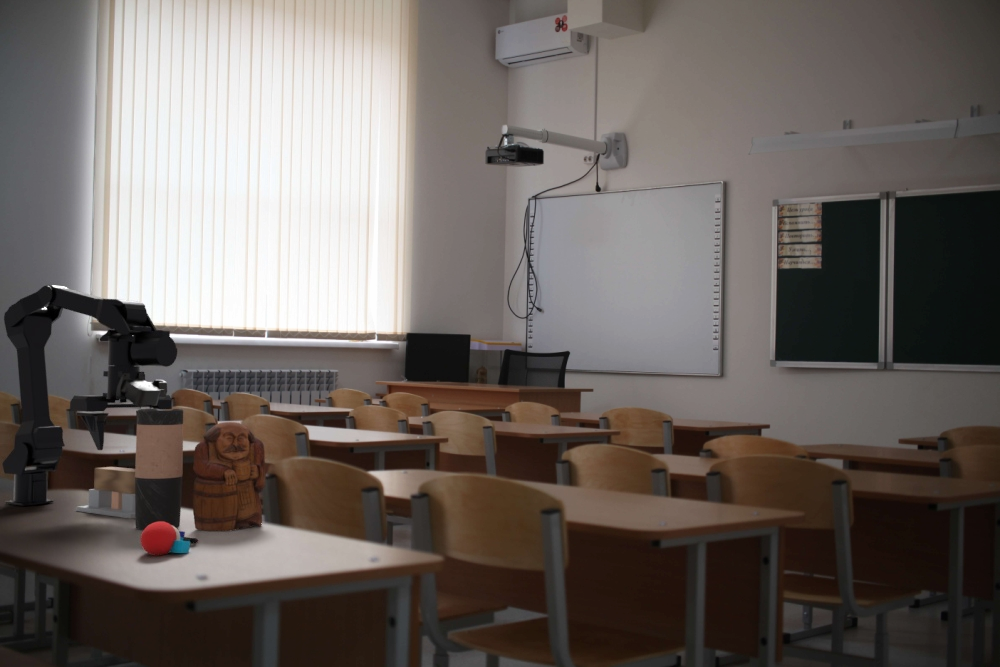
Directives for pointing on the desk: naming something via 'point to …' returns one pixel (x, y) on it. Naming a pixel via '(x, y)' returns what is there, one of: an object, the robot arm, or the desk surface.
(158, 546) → the toy figure
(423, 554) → the desk surface
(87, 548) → the desk surface
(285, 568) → the desk surface
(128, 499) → the pale grey flat fixture
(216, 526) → the wooden figurine
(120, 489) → the walnut bar
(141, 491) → the travel mug
